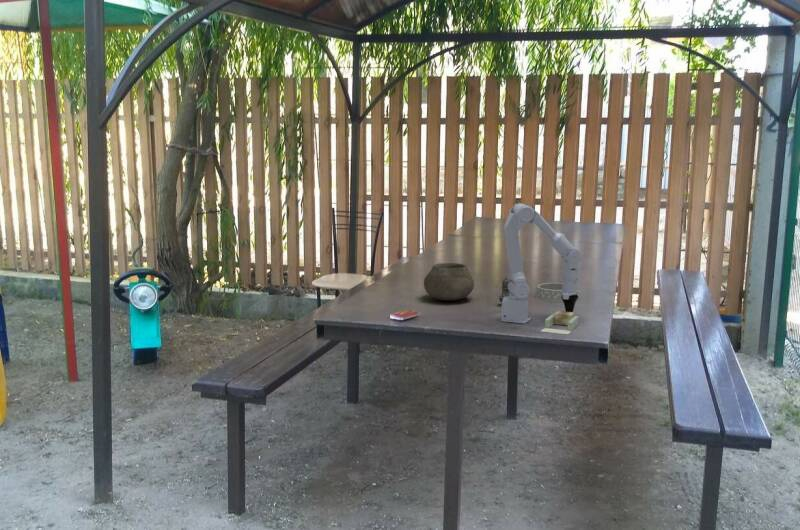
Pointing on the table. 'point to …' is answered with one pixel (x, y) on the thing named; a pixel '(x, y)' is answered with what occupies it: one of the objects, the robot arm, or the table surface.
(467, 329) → the table surface
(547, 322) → the rails
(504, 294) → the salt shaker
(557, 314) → the birch block
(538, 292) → the dog bowl
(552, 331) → the mat
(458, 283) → the clay pot
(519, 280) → the robot arm
